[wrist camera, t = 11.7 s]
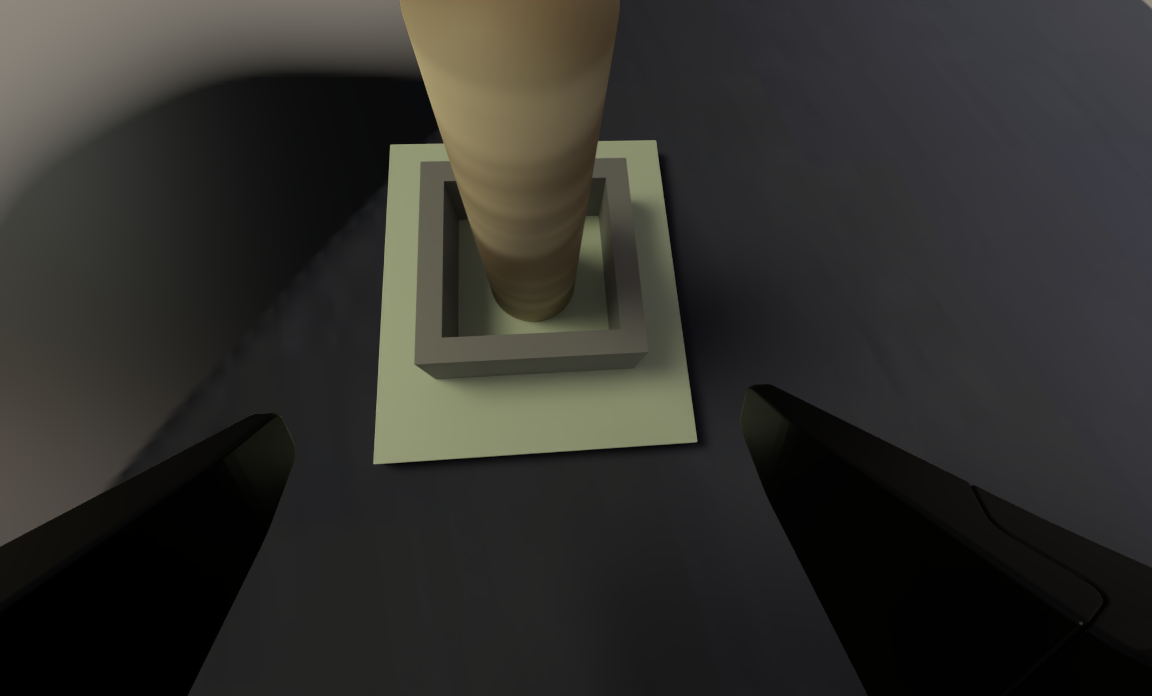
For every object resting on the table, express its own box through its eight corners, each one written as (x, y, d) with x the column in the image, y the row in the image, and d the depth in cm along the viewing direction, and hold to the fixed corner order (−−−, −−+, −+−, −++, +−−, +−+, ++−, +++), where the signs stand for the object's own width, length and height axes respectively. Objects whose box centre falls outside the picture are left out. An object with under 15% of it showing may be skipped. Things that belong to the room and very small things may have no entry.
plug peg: (557, 333, 20) (578, 113, 7) (477, 304, 20) (359, 37, 7) (585, 260, 21) (646, -43, 8) (509, 233, 21) (454, -108, 8)
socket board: (690, 442, 20) (723, 438, 16) (382, 463, 19) (338, 464, 15) (651, 153, 24) (671, 93, 20) (397, 157, 23) (365, 96, 19)
